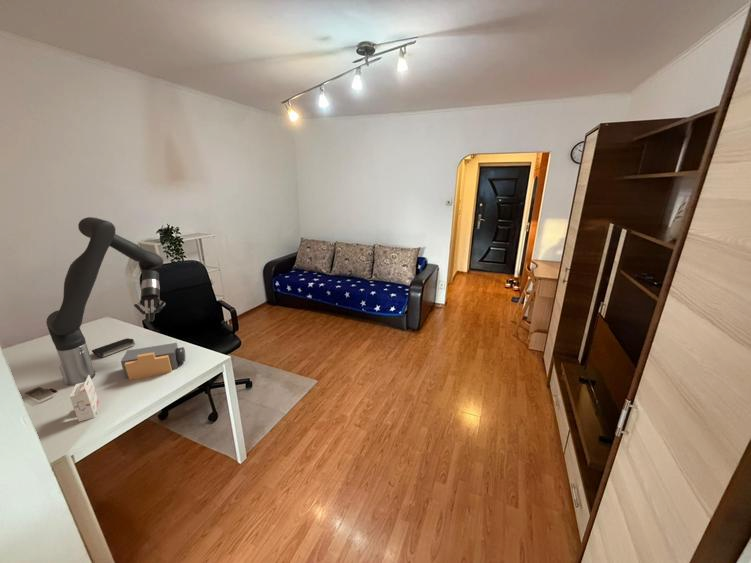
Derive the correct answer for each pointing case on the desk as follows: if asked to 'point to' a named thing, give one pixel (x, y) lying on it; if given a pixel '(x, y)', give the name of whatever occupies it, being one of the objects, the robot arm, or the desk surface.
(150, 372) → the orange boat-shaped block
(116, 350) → the black sponge
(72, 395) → the ink cartridge box
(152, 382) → the desk surface
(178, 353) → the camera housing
